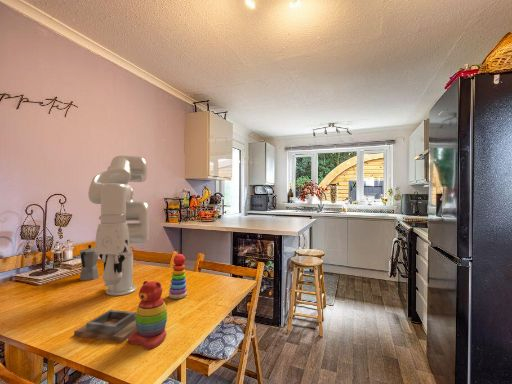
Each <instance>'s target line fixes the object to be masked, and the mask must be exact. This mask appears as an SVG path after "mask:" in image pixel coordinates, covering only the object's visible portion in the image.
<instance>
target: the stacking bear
mask: <svg viewBox="0 0 512 384" xmlns="http://www.w3.org/2000/svg"><path fill="white" fill-rule="evenodd" d="M142 284H143V285H142V286H141V287H140V289H139V291H138V298H139V299H140V301H139V303H138V305H137V309H136V319H135V320H136V327H137V331H136V332H134V333H133V334H131V335H130V336H129V338H128V339H127V343H128V344H131V345H138V344H139V345H141V346H143V348H144V349H147V350H150V349H155V348H156V347H158V346H160V344H162V343H163V342H164V341H165V339H166V337H167V330H166V326H167V321H168V312H167V311H168V310H167V306H166V302H165V301H164V299H163V298H162V295H163V286H162V284H161V282H159V281H155V280H152V281H151V280H150V281H148V280H144V281H143V282H142Z"/></svg>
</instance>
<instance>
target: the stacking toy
mask: <svg viewBox="0 0 512 384" xmlns="http://www.w3.org/2000/svg"><path fill="white" fill-rule="evenodd" d="M172 261H173V263H174V265H173V267H172V268H173V269H172V272H171V273H172V275H171V280H170V285H169V286H170V287H169V289H168V297H169V298H170V299H173V300H178V299H179V300H181V299H183V298H186V297H187V296H188V291H187V282H186V281H187V279H186V274H185V273H186V270H185V268H186V265H185V262H186V257H185V256H184V254H181V253H178V254H175V255H174V257H173V260H172Z"/></svg>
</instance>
